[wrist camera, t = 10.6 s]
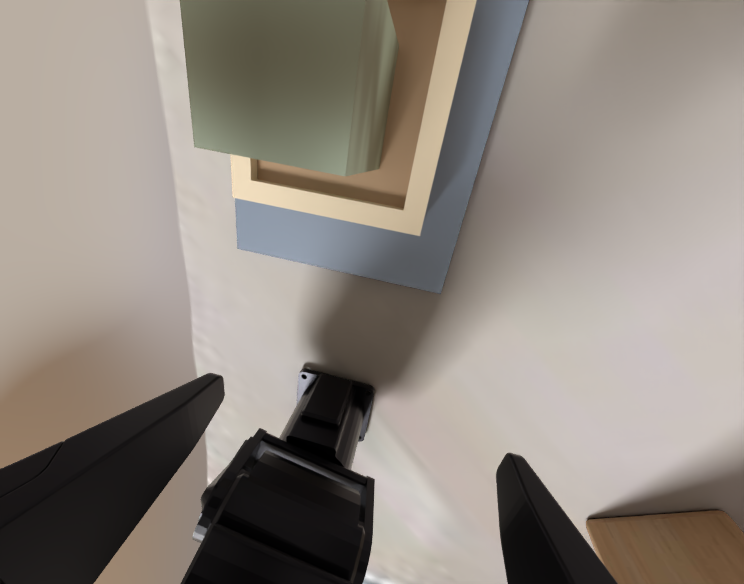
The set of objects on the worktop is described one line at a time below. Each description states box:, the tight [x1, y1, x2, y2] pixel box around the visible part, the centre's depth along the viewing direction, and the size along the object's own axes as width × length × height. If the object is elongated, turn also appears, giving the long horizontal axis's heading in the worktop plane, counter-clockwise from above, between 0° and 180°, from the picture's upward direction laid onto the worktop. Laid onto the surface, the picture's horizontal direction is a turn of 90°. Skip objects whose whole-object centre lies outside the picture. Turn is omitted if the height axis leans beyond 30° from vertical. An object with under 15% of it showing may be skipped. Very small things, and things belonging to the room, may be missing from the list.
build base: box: [230, 0, 529, 294], centre depth 14 cm, size 18×14×5 cm
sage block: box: [180, 0, 399, 176], centre depth 10 cm, size 4×4×6 cm
